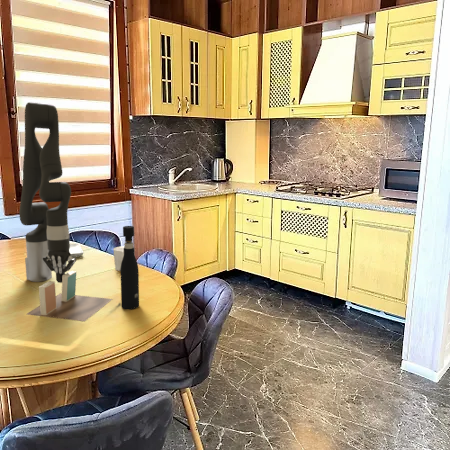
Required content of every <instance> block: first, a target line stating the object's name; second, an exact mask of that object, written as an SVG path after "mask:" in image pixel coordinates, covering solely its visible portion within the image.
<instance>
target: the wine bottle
mask: <svg viewBox="0 0 450 450" xmlns="http://www.w3.org/2000/svg"><path fill="white" fill-rule="evenodd" d="M122 237H124V243H123V246H124V247H125V248H124V256H123V259H122V263H121V269H120V271H119V272H120V298H121V300H120V303H121V309H123V310H126V311H127V310H130V311H131V310H136V309H138V308H140V307H139V306H140V285H139V283H140V280H139V279H140V277H139V276H140V275H139V264H138V262H137V259H136V256H135V247H134V246H135V245H134V242H133V237H135V227H134V226H133V225H125V226H123V227H122Z"/></svg>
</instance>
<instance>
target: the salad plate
mask: <svg viewBox="0 0 450 450" xmlns="http://www.w3.org/2000/svg"><path fill="white" fill-rule="evenodd" d="M69 252H70V254H71V257H72V258H73V259H74V258H77V257H80V256H82V255H83V254H84V250H83V249H82V246H81V244H80V243H70V249H69Z"/></svg>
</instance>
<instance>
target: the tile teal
mask: <svg viewBox="0 0 450 450" xmlns="http://www.w3.org/2000/svg"><path fill="white" fill-rule="evenodd" d="M76 287H77V271H76V270H69V271H67V272H65V274H64V275H62V283H61V294H62V296H61V301H64V302H67V301H68V300H70V299H72V298H73V297H75V295H76V289H77V288H76Z"/></svg>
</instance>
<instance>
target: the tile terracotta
mask: <svg viewBox="0 0 450 450" xmlns="http://www.w3.org/2000/svg"><path fill="white" fill-rule="evenodd" d="M38 293H39V294H38V296H39V297H38V298H39V306H40V311H41V315H47V314H49V313H50V312H52V311H53V310H55V309H56V296H57V295H56V293H57V292H56V282H55V281H54V280H48V281H47V282H45V283H43V284H42V285H40V286H38Z"/></svg>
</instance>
